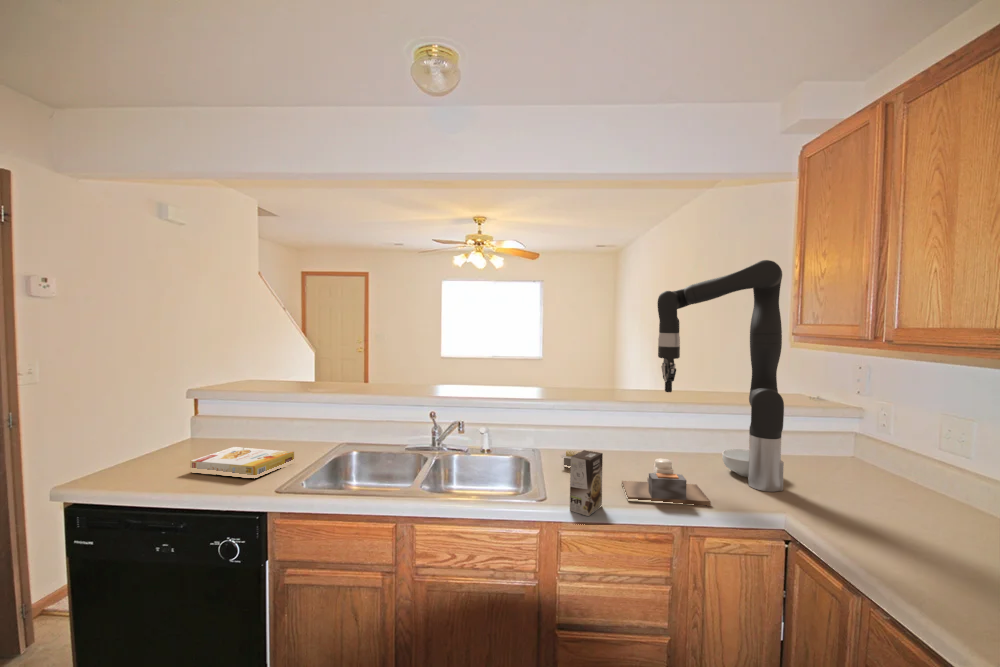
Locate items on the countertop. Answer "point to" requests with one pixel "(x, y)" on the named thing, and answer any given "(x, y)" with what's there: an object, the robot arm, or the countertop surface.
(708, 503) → the knob mount
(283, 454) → the cereal box
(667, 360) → the robot arm
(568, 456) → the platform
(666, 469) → the plunger knob
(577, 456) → the coffee box
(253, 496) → the countertop surface
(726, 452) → the cereal bowl
